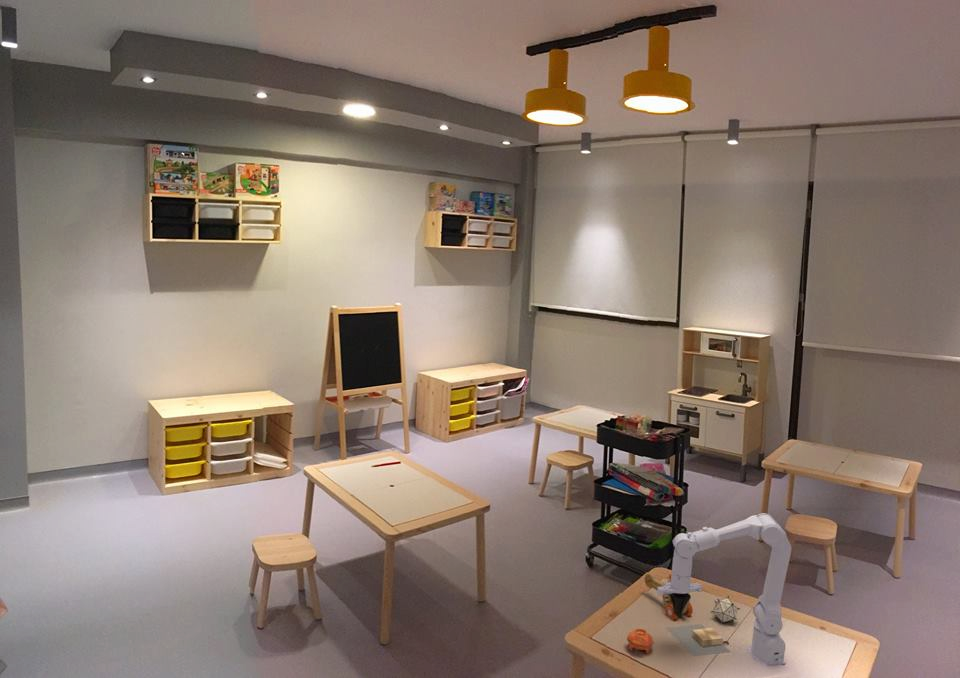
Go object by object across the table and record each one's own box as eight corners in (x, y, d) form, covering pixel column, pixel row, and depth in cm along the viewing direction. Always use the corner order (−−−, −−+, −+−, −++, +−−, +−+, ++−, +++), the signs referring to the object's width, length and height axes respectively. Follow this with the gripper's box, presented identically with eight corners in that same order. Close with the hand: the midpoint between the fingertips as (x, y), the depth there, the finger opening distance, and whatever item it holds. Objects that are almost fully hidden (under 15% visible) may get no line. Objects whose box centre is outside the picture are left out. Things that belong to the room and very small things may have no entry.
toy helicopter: (676, 624, 230) (680, 585, 229) (635, 595, 249) (639, 558, 247) (694, 619, 234) (698, 581, 232) (653, 591, 252) (656, 555, 251)
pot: (635, 658, 209) (634, 635, 210) (623, 650, 216) (622, 627, 217) (659, 655, 211) (657, 632, 212) (646, 646, 219) (645, 624, 219)
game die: (729, 633, 233) (746, 620, 227) (706, 624, 233) (722, 610, 227) (727, 610, 240) (744, 596, 234) (705, 600, 240) (721, 586, 234)
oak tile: (702, 646, 217) (721, 644, 219) (703, 640, 217) (722, 638, 219) (691, 636, 223) (710, 634, 225) (692, 630, 222) (711, 627, 224)
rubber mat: (730, 653, 215) (730, 651, 215) (693, 657, 212) (693, 656, 212) (701, 625, 231) (701, 624, 230) (666, 629, 227) (666, 627, 227)
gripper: (694, 565, 220) (690, 605, 222) (653, 568, 216) (650, 609, 218) (707, 575, 214) (703, 617, 215) (665, 579, 210) (661, 621, 211)
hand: (677, 614), depth 216 cm, fingers closed
